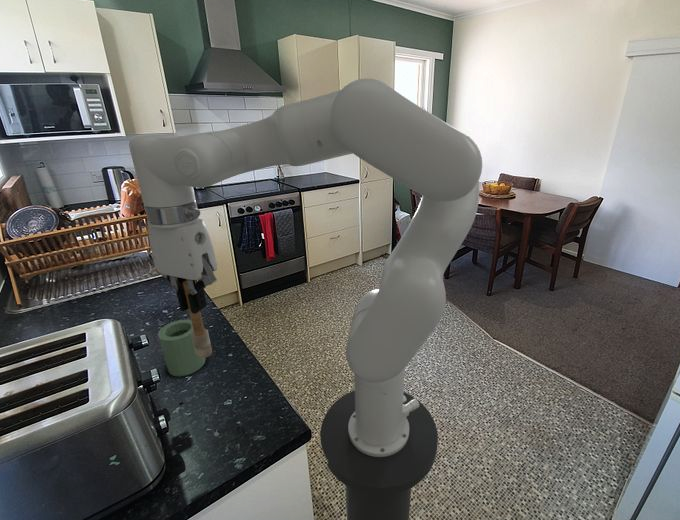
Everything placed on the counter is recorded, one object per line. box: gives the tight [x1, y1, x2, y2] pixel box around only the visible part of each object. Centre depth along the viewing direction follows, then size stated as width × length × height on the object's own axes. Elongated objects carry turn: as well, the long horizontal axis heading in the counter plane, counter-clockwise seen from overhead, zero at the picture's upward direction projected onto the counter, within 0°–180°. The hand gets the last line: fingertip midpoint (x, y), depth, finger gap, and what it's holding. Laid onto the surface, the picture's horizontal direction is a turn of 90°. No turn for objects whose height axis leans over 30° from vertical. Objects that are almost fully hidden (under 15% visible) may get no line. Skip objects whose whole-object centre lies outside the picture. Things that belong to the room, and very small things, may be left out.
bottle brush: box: [183, 281, 213, 359], centre depth 65 cm, size 3×3×16 cm
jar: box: [157, 318, 206, 377], centre depth 88 cm, size 9×9×11 cm
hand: (194, 307), depth 64 cm, fingers closed on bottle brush
